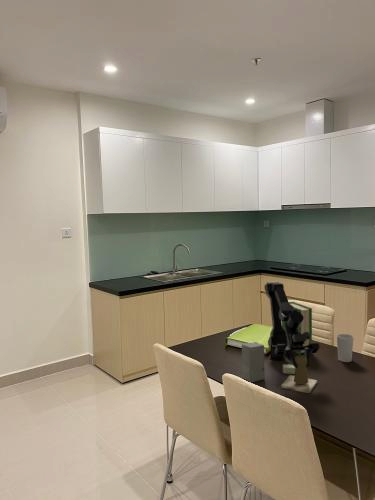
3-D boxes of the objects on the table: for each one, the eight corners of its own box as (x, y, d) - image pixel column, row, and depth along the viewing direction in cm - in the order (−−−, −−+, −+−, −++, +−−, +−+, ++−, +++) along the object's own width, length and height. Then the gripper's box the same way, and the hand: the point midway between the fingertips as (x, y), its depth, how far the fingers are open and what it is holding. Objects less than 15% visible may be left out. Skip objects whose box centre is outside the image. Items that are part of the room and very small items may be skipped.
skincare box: (250, 383, 174) (249, 348, 173) (241, 377, 181) (240, 343, 179) (265, 379, 178) (265, 344, 177) (256, 373, 184) (255, 340, 183)
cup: (355, 362, 194) (355, 338, 193) (337, 362, 196) (337, 338, 195) (351, 357, 202) (351, 334, 201) (335, 356, 204) (335, 333, 203)
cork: (294, 377, 174) (294, 353, 173) (308, 379, 172) (308, 354, 170) (292, 383, 168) (292, 358, 167) (307, 384, 166) (307, 359, 165)
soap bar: (283, 373, 184) (282, 367, 184) (282, 370, 188) (282, 364, 188) (296, 374, 183) (296, 368, 183) (296, 371, 187) (295, 364, 187)
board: (281, 387, 169) (281, 385, 169) (290, 377, 179) (290, 375, 179) (309, 393, 163) (309, 391, 163) (317, 382, 173) (317, 380, 173)
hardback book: (311, 352, 210) (311, 308, 208) (299, 354, 208) (299, 309, 205) (293, 343, 227) (293, 301, 224) (282, 344, 224) (281, 302, 222)
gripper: (276, 326, 171) (284, 360, 161) (318, 324, 172) (329, 358, 162) (271, 338, 179) (278, 371, 169) (311, 336, 181) (321, 369, 171)
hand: (302, 367), depth 168 cm, fingers closed on cork, 5 cm apart
